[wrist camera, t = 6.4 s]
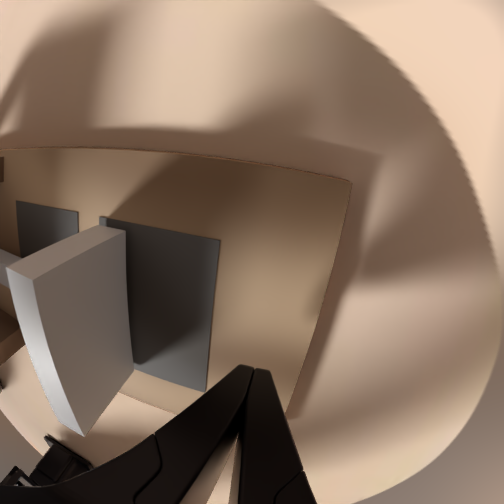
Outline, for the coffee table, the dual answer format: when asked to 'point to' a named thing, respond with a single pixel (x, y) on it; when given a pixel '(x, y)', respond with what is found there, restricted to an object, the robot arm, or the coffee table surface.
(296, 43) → the coffee table surface
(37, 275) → the grey flanged bar
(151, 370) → the track bed
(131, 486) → the robot arm
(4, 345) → the walnut tunnel
